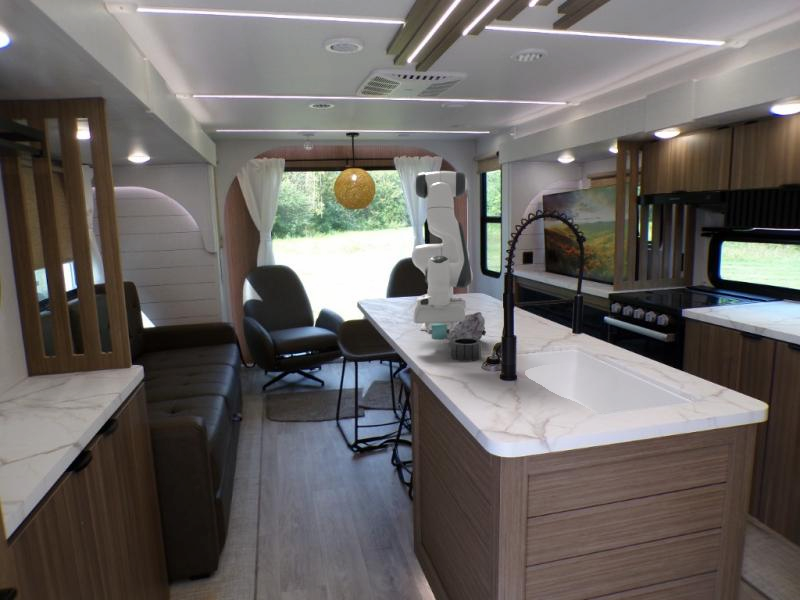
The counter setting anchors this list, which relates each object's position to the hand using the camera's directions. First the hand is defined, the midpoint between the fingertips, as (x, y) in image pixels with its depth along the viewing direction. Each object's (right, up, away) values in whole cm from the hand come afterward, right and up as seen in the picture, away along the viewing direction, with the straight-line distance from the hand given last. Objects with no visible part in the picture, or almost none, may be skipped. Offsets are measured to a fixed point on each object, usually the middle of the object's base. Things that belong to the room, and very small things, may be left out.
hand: (439, 333), depth 210 cm
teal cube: (0, -2, 0) cm, 2 cm away
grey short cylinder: (+9, -8, -12) cm, 17 cm away
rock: (+12, -4, +11) cm, 17 cm away
